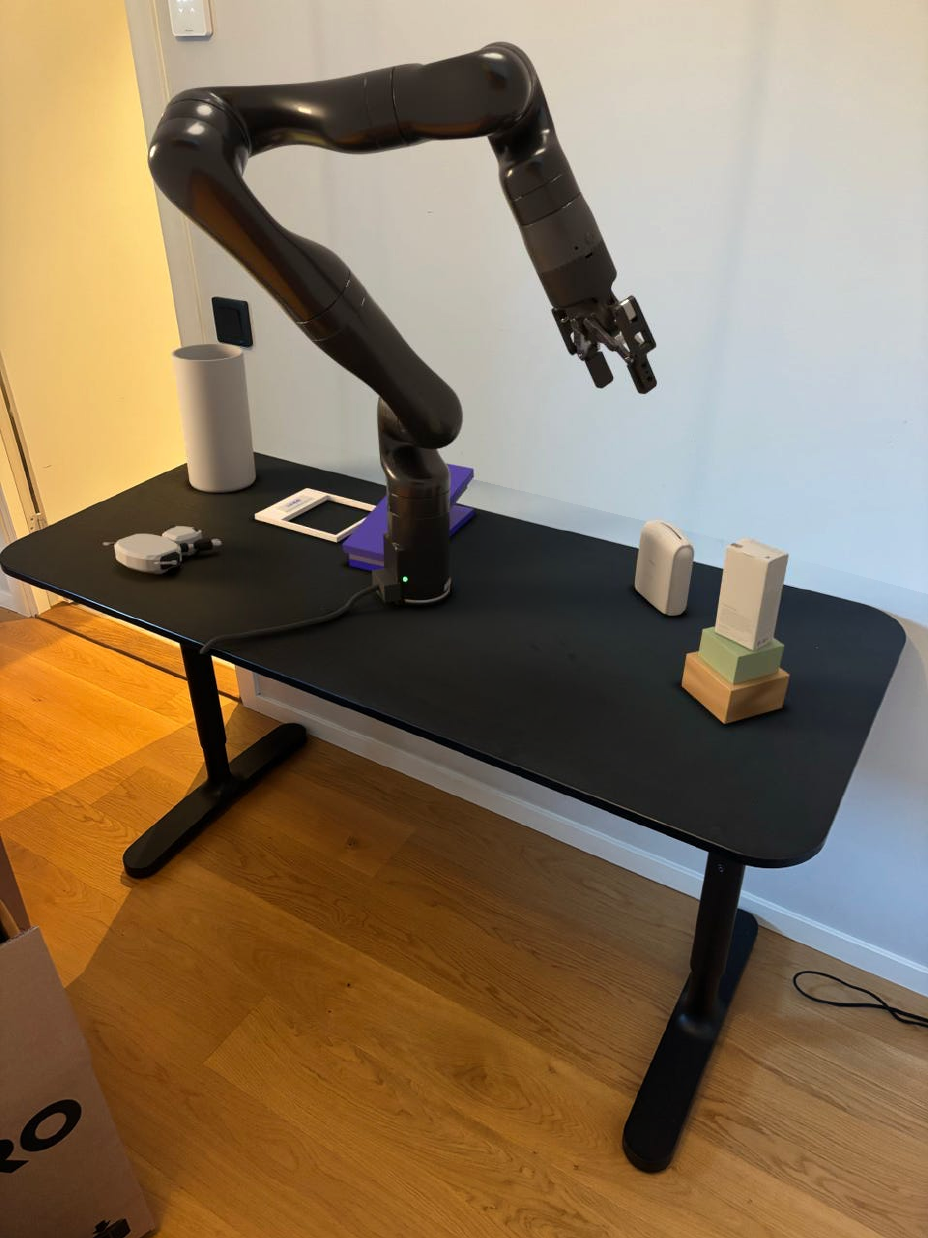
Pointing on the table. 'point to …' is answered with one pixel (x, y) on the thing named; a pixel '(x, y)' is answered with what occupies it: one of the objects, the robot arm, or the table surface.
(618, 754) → the table surface
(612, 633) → the table surface
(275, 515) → the photo frame
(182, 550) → the robot toy
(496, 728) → the table surface
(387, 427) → the robot arm
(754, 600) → the cosmetic box
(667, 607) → the photo printer
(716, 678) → the lower block
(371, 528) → the stapler
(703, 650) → the upper block
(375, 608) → the table surface
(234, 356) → the cylinder vase
